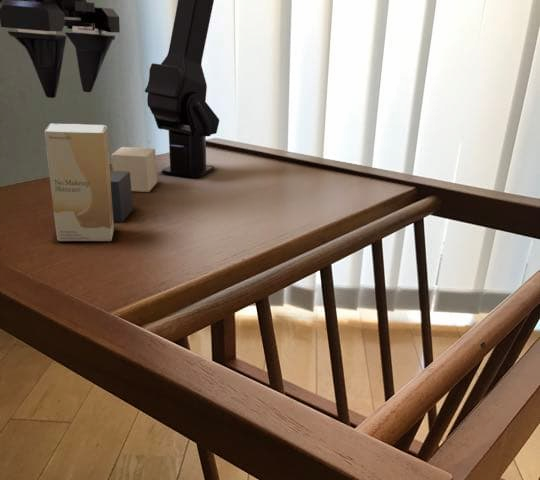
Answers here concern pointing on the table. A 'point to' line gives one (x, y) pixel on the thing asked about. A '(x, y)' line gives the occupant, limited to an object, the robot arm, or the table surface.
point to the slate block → (121, 194)
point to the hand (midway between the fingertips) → (69, 94)
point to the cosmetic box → (80, 181)
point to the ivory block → (137, 166)
